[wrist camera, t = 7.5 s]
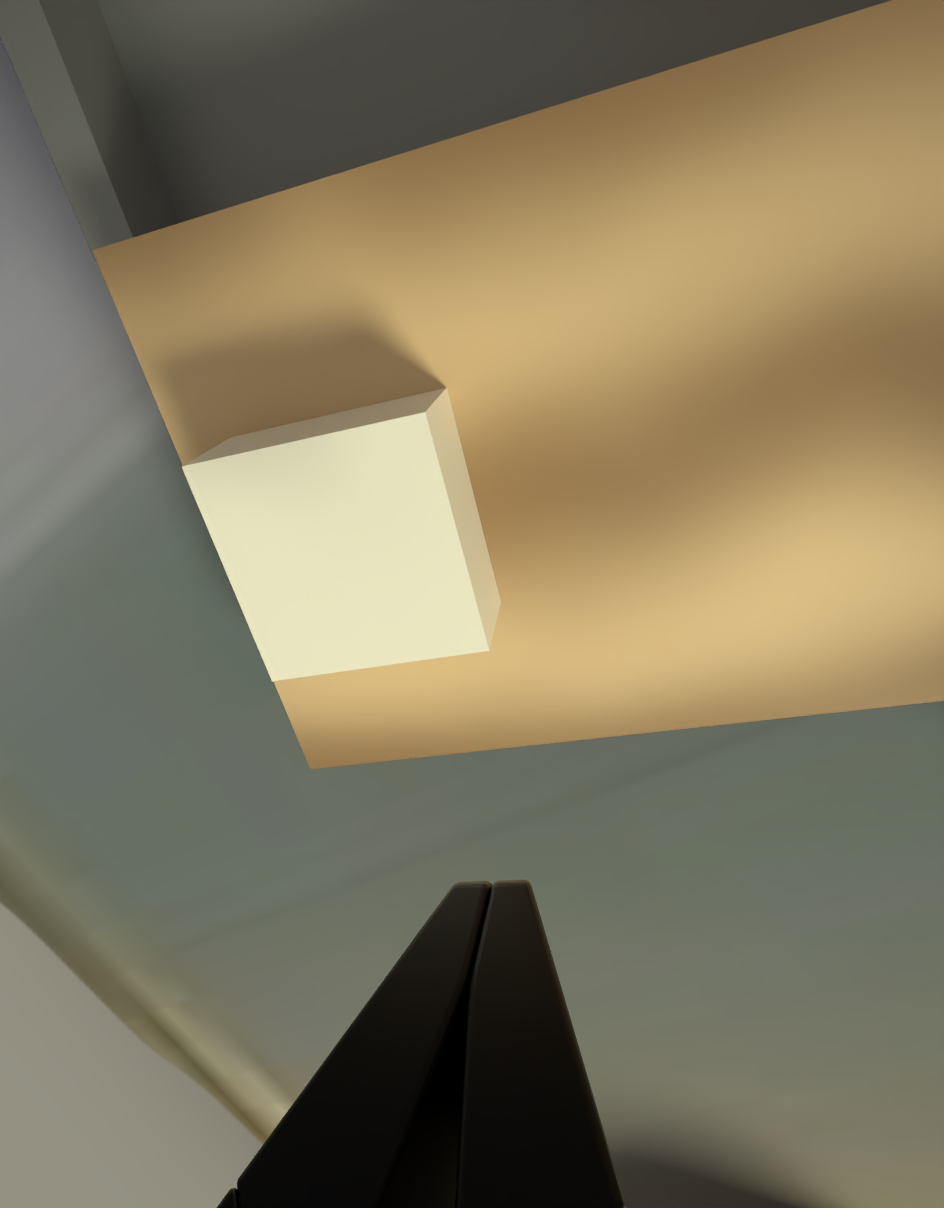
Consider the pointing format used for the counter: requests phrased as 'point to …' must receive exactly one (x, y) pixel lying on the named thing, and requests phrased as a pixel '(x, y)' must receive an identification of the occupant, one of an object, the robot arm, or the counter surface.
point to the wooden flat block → (620, 385)
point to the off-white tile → (352, 538)
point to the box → (323, 83)
